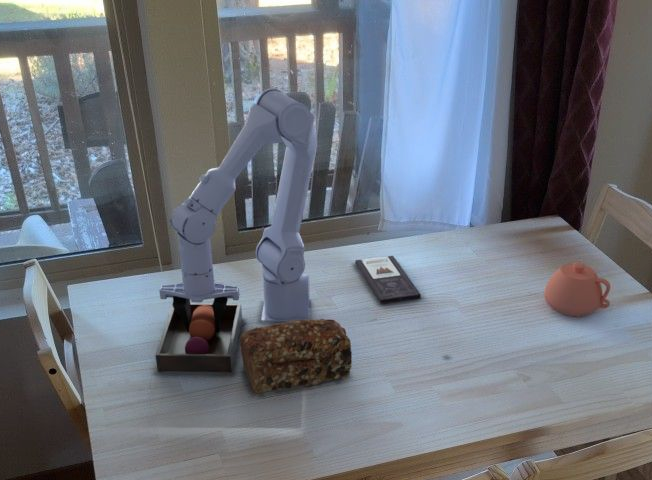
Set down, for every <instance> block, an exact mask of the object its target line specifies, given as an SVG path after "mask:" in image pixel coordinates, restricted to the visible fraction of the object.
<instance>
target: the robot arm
mask: <svg viewBox="0 0 652 480" xmlns="http://www.w3.org/2000/svg"><path fill="white" fill-rule="evenodd" d="M315 119H316V117H315V115H314V114H313V113H312V112H311V110H310V109H309V108H308V107H307V106H306V105H305V104H304V103H302V102H299V101H297V100H296V99H293V98H292V97H290V96H288V95H287V94H285V93H284V92H282V91H281V90H280V89H278V88H267V89H265V90H263V91H262V92H261V93H260V94H259V96H258V97H257V99H256V102H255V103H253V104H252V105H251V107H250V108H249V111H248V115H247V119H246V122H245V124H244V126H243V127H242V129H241V130H240V132H239V133H238V135H237V137H236V138H235V140H234V142H233V144H232V145H231V147H230V148H229V150H228V151H227V153H226V155H225V157H223V159H222V162H221V163H220V164H219V166H217V167H213V168H210V169H208V170H207V171H206V173H205V174H204V173H202V174H201V176H200V177H199V178H198V180H199V183H198V184H197V186H196V187H195V188H194V190H193V191H192V193H190V196H189V197H188V198H186V199H185V200H184V202H183V203H180V204H179V205H178V206H177V207H175V209H174V210H173V212H172V214H171V218H170V219H169V223H170V226H171V227H172V228H173V229H174V230H175V231H176V235H177V236H176V237H177V244H178V253H179V262H180V270H181V277H182V282H180V283H173V284H161V285H160V288H159V298H160V300H166V299H168V298H169V299H170V298H171V299H172V304H171V306H172V305H173V308H174V309H175V310H176V311H177V313H178V314H179V315H180V317H181V318H182V320H183V322H184V324H185V326H186V328H187V331H188V332H189V326H190V323H191V319H192V316H191V310H190V303H203V301H204V300H210V299H213V301H212V303H213V305H212V307H213V312H214V317H215V331H216V333H219V332H220V328H221V318H222V315H223V312H224V310H225V308H226V305H227V304H228V300H229V299H230V300H231V299H232V301H239V300H240V295H241V293H240V286H237V285H235V286H234V285H227V284H223V283H217V282H215V274H214V264H213V255H212V244H211V237H212V236H213V235H214V234H215V230H216V221H217V218H218V216H219V214H220V213H221V212H222V210H223V209H224V207H225V206H226V204H227V203H228V202H229V200H230V199H231V197H232V196H233V195H234V194H235V192H236V189H237V186H236V185H237V184H236V179H237V178H238V176H239V175H240V174H241V173H242V171H244V169H245V168H246V167H247V166H248V165H249V163H250V162H251V161H252V159H253V158H254V157H255V156H256V155H257V153H258V152H260V149H261V148H262V147H263V146H264V145H272V144H281V143H283V144H284V145H285V151H284V152H285V153H284V158H283V162H282V167H281V174H280V176H279V177H280V178H279V183H278V188H277V195H276V199H275V204H274V205H275V206H274V210H273V215H272V219H271V220H272V221H271V225H270V226H268V227H266V228H265V229H264V230H263V233H262V237H261V239H260V240H259V242H258V244H257V245H256V247H255V257H256V260H257V261H258V262H259V263H260V264H261V268H262V287H263V307H262V312H261V319H260V320H261V321H262V322H292V321H294V320H302V319H310V310H311V309H312V299H311V298H310V297H311V290H310V289H311V288H310V286H311V285H310V274H308V273H304V272H305V269H306V261H305V257H304V256H305V255H304V254H305V244H304V242H303V239H302V237H301V234H300V232H301V231H300V230H301V225H302V221H303V216H304V211H305V206H306V202H307V196H308V193H309V187H310V182H311V177H312V173H313V167H314V163H315V158H316V153H317V148H318V138H317V134H316V130H315V125H314V124H315Z"/></svg>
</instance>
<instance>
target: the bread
mask: <svg viewBox="0 0 652 480" xmlns="http://www.w3.org/2000/svg"><path fill="white" fill-rule="evenodd" d="M239 342H240V343H239V346H240V354H241V358H242V362H243V363H242V364H243V368H244V371H245V374H246V376H247V379H248V382H249V385H250V387H251V389H252V391H253V393H254V394H265V393H266V392H272V391H279V390H280V391H281V390H286V389H291V388H298V387H311V386H316V385H320V384H322V383H327V382H333V381H334V380H340V379H342V380H343V379H346V378H348V377H350V374H351V369H352V364H353V361H352V359H353V357H352V354H353V353H352V352H353V351H352V345H351V339H350V338H349V337H348V335H347V331H346V328H344V327H342V326H341V323H339V322H338V321H336V320H334V319H325V318H319V319H318V318H309V319H302V320H294V321H284V322H278V323H271V324H268V325H266V326H260V327H254V328H252V329H249V330H247V331H244V332H242V334H241V335H240V336H239Z"/></svg>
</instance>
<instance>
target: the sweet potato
mask: <svg viewBox="0 0 652 480" xmlns="http://www.w3.org/2000/svg"><path fill="white" fill-rule="evenodd" d="M189 333H190V336H191V337H192V338H193V337H201V338H203V339H204V340H206V341H209V340H210V339H211V338H212V337H213V335H214V333H215V317H214V312H213V307H211V306H209V305H202V306H199V307H197V308H196V309H195V311H194V313H193V316H192V319H191V323H190V326H189Z"/></svg>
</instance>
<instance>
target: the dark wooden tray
mask: <svg viewBox="0 0 652 480" xmlns="http://www.w3.org/2000/svg"><path fill="white" fill-rule="evenodd" d="M202 305H209V306H211V307H212V305H213V302H207V303H206V302H190V310H191V316H193V313H194V311H195V309H196V308H197V307H199V306H202ZM242 323H243V310H242V303H227V305H226V308H225V310H224V312H223V315H222V318H221V328H220V332H219V333H216V331H215V333H214V335H213V337H212V338H211V339H210V340H209V341H207V343H208V345H209V353H208V354H186V352H185V345H186V343H187V341H188V340H189V339H191V338H192V337H191V336H190V333H189V332H188V331H187V328H186V326H185V324H184V322H183V320H182V318H181V317H180V315H179V314H178V313H177V311H176V310H175V309H174V308H173V305H172V304H171V307H170V310H169V313H168V316H167V319H166V322H165V325H164V328H163V331H162V334H161V337H160V340H159V343H158V346H157V350H156V351H155V354H154V355H155V356H154V357H155V363H156V368H157V372H162V373H163V372H167V373H168V372H170V373H171V372H173V373H174V372H175V373H176V372H177V373H179V372H181V373H187V372H188V373H233V369H234V368H233V367H234V363H235V358H236V352H237V349H238V348H237V347H238V343H239V339H240V332H241V327H242Z"/></svg>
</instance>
